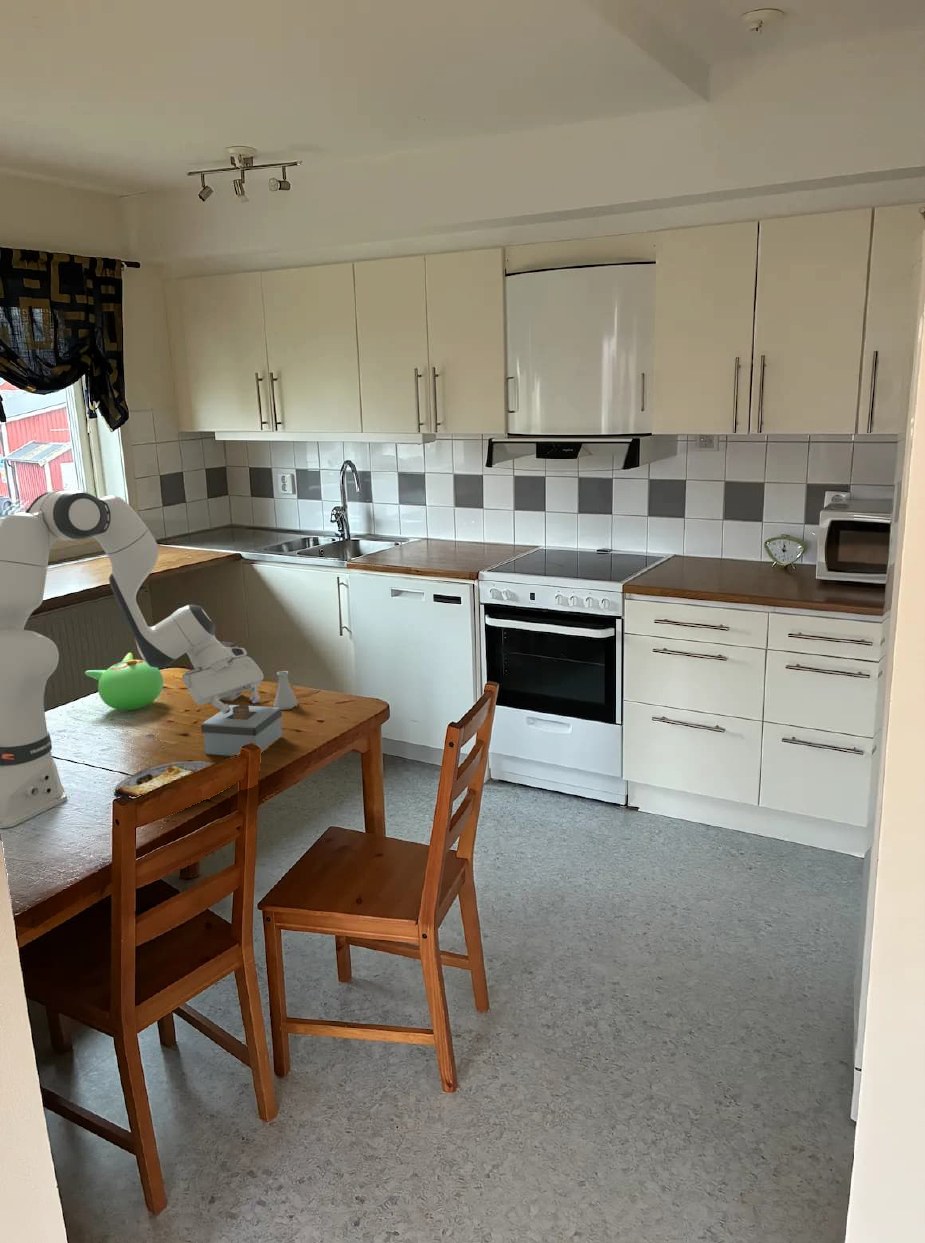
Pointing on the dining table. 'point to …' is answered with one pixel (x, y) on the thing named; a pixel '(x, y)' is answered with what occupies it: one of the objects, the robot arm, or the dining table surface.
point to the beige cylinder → (241, 712)
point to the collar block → (241, 730)
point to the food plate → (156, 777)
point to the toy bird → (128, 684)
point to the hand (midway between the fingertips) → (242, 706)
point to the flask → (284, 693)
